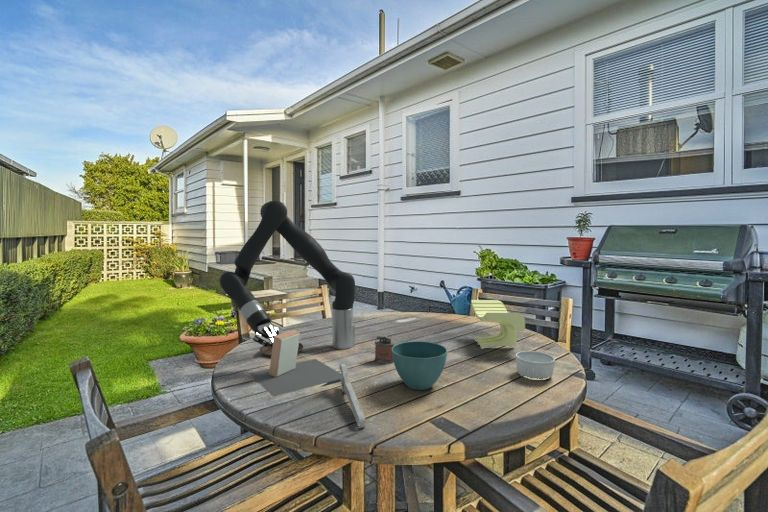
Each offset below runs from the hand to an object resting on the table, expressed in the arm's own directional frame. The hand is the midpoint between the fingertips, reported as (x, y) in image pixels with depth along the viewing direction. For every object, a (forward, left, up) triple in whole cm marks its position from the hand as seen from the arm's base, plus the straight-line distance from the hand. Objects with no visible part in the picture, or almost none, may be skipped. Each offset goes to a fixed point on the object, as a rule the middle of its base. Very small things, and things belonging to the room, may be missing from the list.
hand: (280, 352), depth 137 cm
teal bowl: (-33, +37, -8) cm, 50 cm away
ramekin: (-72, +55, -8) cm, 91 cm away
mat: (-3, +7, -8) cm, 11 cm away
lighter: (-38, +11, -8) cm, 41 cm away
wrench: (-7, +36, -8) cm, 37 cm away
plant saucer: (-9, -22, -8) cm, 26 cm away
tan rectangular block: (0, +1, -7) cm, 7 cm away
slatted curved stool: (-92, +23, -8) cm, 95 cm away
